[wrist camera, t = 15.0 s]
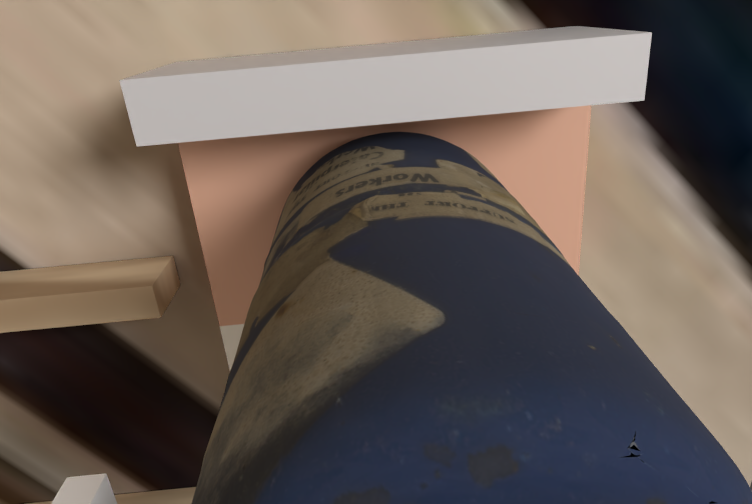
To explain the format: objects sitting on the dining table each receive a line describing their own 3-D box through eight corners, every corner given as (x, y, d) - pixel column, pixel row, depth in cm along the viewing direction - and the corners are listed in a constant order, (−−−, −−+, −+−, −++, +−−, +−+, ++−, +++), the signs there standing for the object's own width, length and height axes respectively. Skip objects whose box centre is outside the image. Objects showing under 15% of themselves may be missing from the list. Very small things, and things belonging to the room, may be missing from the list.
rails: (235, 503, 32) (224, 549, 29) (23, 523, 32) (-7, 573, 29) (173, 255, 25) (152, 285, 23) (-92, 280, 25) (-145, 313, 22)
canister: (421, 70, 21) (713, 319, 4) (547, 254, 24) (983, 792, 8) (230, 219, 23) (-77, 780, 6) (370, 369, 26) (411, 994, 10)
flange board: (550, 448, 31) (594, 543, 26) (265, 476, 31) (248, 577, 25) (576, 26, 22) (651, 32, 17) (176, 61, 22) (119, 80, 17)
